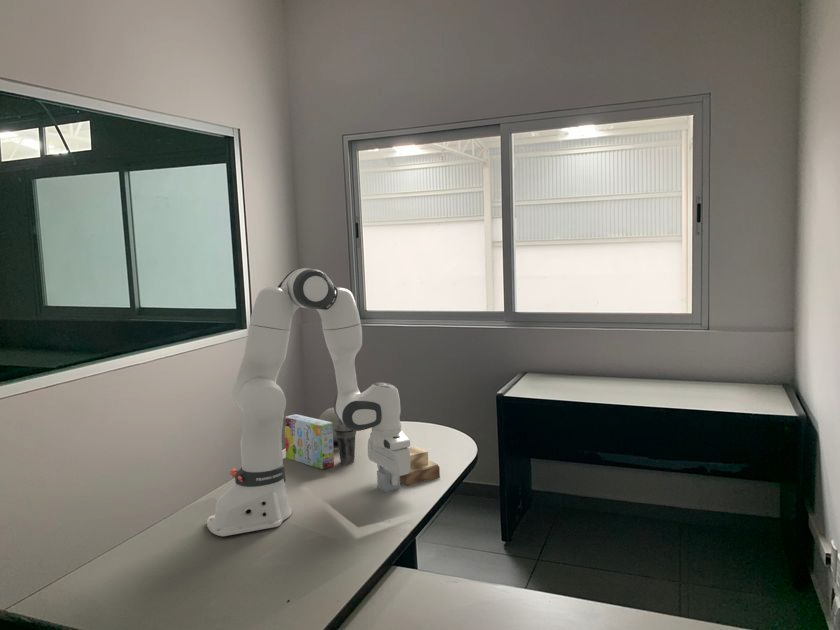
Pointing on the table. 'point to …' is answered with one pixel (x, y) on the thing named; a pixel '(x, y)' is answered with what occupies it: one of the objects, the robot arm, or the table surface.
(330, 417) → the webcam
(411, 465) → the oak block
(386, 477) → the grey cube
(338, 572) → the table surface
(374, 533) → the table surface
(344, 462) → the beverage cup
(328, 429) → the snack box
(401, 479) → the plinth
